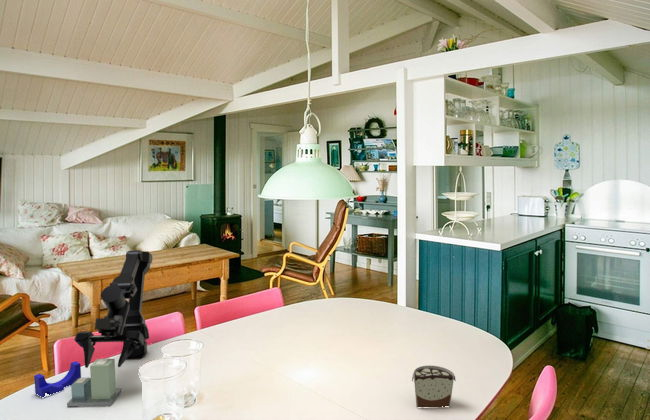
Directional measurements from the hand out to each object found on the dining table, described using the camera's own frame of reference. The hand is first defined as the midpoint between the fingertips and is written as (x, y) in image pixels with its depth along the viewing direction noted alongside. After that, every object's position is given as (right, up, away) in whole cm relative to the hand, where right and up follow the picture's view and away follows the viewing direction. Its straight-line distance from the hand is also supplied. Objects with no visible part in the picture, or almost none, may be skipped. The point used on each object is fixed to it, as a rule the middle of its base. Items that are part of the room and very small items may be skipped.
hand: (102, 367), depth 128 cm
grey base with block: (-2, -10, +1) cm, 10 cm away
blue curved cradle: (-17, -10, +7) cm, 21 cm away
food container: (+95, -10, 0) cm, 96 cm away
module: (0, -9, +1) cm, 9 cm away
